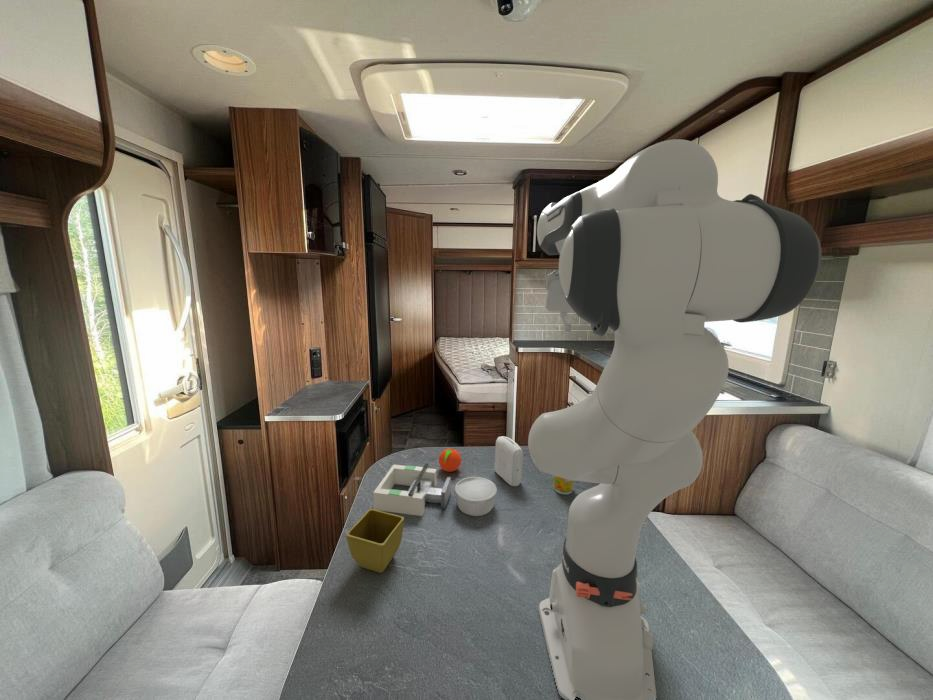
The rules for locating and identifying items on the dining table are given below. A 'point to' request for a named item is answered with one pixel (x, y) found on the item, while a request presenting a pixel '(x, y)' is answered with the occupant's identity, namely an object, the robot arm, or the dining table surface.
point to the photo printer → (508, 460)
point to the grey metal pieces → (431, 489)
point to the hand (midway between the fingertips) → (588, 331)
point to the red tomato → (450, 460)
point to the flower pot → (375, 539)
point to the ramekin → (475, 495)
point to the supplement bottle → (563, 485)
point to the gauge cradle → (399, 499)
